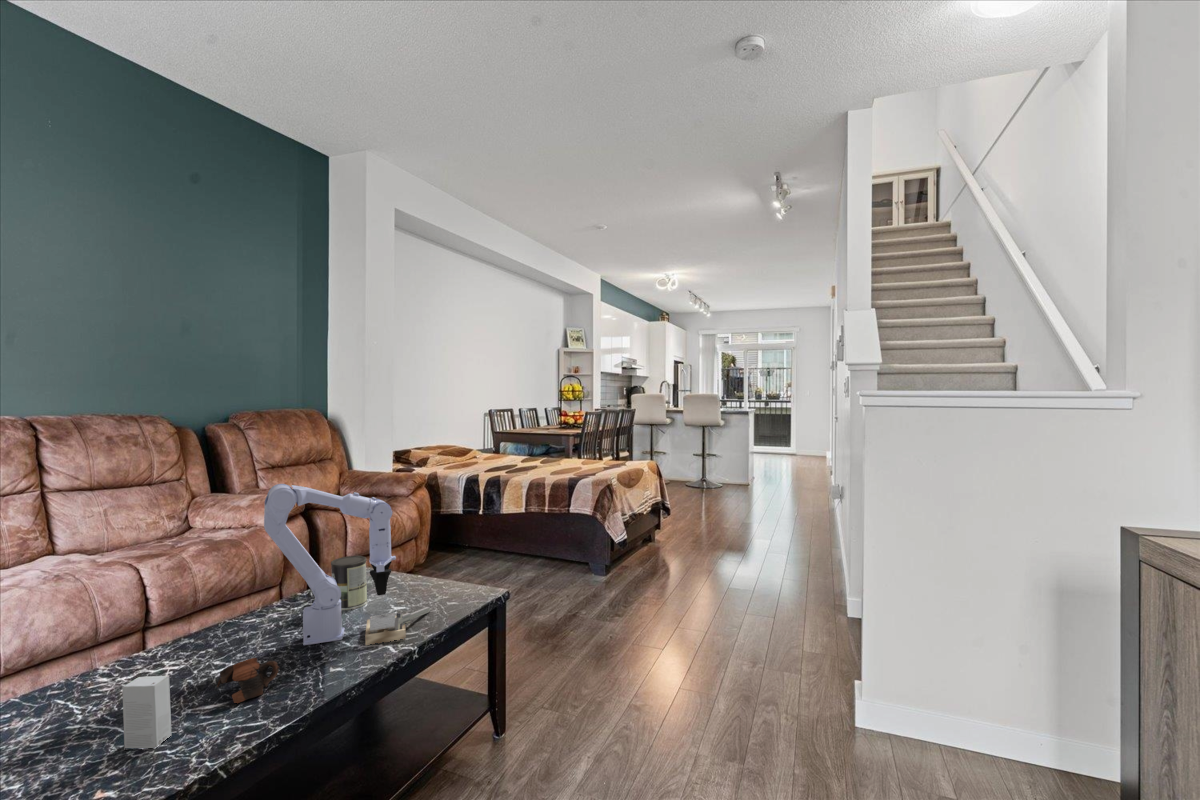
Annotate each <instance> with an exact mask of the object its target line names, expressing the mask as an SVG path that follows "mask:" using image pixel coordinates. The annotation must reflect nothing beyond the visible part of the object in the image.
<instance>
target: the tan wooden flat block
mask: <svg viewBox="0 0 1200 800" xmlns="http://www.w3.org/2000/svg"><path fill="white" fill-rule="evenodd" d="M404 614H405V613H402V615H404ZM396 617H397V614H395V618H396ZM406 632H407V631H406V624H404V625H403V626H402V629H400V630H394V631H389V628H386V629H379V630H377V633H374V634H370V618H369V619H368V618H367V619H366V627H365V633H364V634H365V636H364V637H365V646H370V644H372V645H376V644H375V643H378V644H383V643H382V642H384V643H390V641H391V642H395V641H394V640H397V641H401V640H400V639H403V640H405V639H404V638H406V639H407V637H406V635H407V633H406Z"/></svg>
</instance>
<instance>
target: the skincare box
mask: <svg viewBox="0 0 1200 800" xmlns="http://www.w3.org/2000/svg"><path fill="white" fill-rule="evenodd" d="M170 688H171V687H170V676H169V675H154V676H153V675H151V676H150V675H149V676H139V677H137V678H135V679H133V680H132V681H130V682H128V683H126V684H125V685H124V686H122V687H121V690H122V691H121V692H122V694H121V695H122V716H123V717H122V718H123V742H124V743H123V746H124V747H123V748H124V749H125V748H153V747H157V746H158V745H160V744H161V743H162V742H163V741H165V740H166V739H167V738H169V737H170V736H171V737H172V715H171V714H172V713H171V691H170ZM171 737H170V738H171ZM170 738H169V739H170ZM166 741H167V740H166ZM166 741H165V742H166ZM160 746H161V745H160Z"/></svg>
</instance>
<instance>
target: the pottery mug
mask: <svg viewBox="0 0 1200 800" xmlns="http://www.w3.org/2000/svg"><path fill="white" fill-rule="evenodd" d="M270 668H271V669H272V670H271V672H270V674H269V675H268V673H267V672H268V670H269V669H270ZM280 668H281V667H280V666H279V665H278V662H277V661H275V660H268V661H266V662H263V663H260V662H258V658H257V657H253V658H248V659H244V660H242V661H240V662H236V663H235V664H232V665H230V666H228V667H226V668H224V669H222V670H221V671H220V672H219V676H220V677H219V679H218V682H217V686H216V687H217V688H219V687H220V686H221V685H223V684H229V683H231V682H237V683H238V684H239V687H240V689H239V690H238V691H236V692H234V693H232V694H231V698H232V701H233V703H237V704H240V703H241V702H242V703H243V702H244V701H247V700H249V699H254V698H256V697H259V696H261V695H263V694H264V688H267V687H268V686H269V683H270V682H273V680H275V678H276V677H277V676H278V673H279V671H280ZM258 671H259V673H258Z"/></svg>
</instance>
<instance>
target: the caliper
mask: <svg viewBox="0 0 1200 800" xmlns="http://www.w3.org/2000/svg"><path fill="white" fill-rule="evenodd" d="M432 609H433V608H431V606H427V607H424V608H421V609H418V610H416V611H412V612H411V613H410V612H407V613H403V612H397V613H396V615H397V617H396V618H395V630H400V629H402V626H403V625H404V624H405V625H408V624H410V623H411V620H414V619H416V618H419V617H421V616H424V615H426V614H428V613H429V614H430V612H431V611H432ZM403 614H404V615H403Z"/></svg>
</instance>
